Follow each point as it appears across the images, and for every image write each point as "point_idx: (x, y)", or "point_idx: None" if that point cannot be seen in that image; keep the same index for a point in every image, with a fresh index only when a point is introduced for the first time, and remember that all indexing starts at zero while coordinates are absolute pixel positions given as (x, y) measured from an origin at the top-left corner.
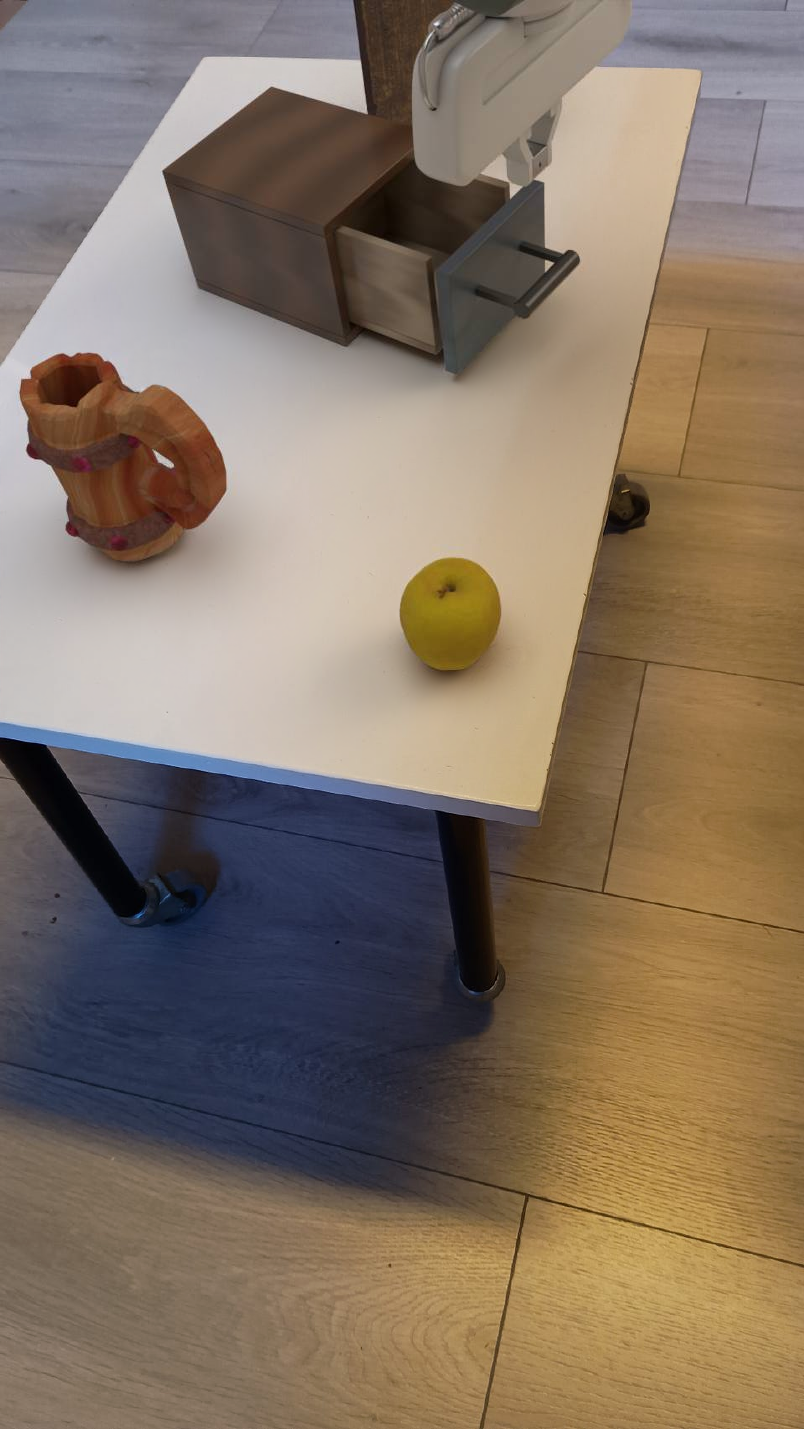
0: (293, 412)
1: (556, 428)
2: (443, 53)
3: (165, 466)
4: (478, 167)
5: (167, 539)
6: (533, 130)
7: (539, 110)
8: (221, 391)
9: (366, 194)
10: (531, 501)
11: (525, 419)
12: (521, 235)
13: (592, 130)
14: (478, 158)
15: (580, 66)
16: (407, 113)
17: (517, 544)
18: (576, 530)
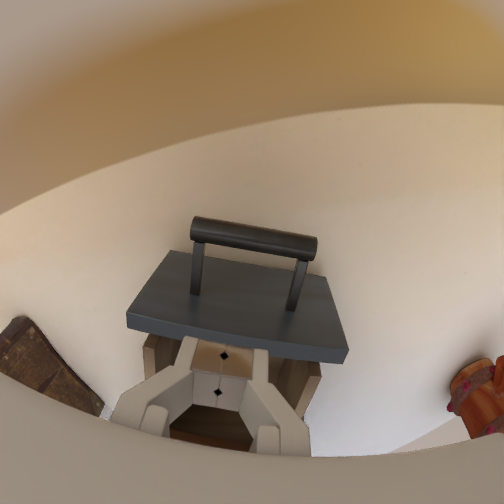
0: (375, 364)
1: (356, 163)
2: None
3: (466, 393)
4: (493, 447)
5: (490, 361)
6: (178, 405)
7: (269, 477)
8: (359, 404)
9: (239, 446)
10: (439, 158)
11: (352, 195)
12: (191, 300)
13: (6, 283)
14: (497, 461)
15: (42, 432)
16: (76, 405)
17: (475, 157)
18: (455, 114)
